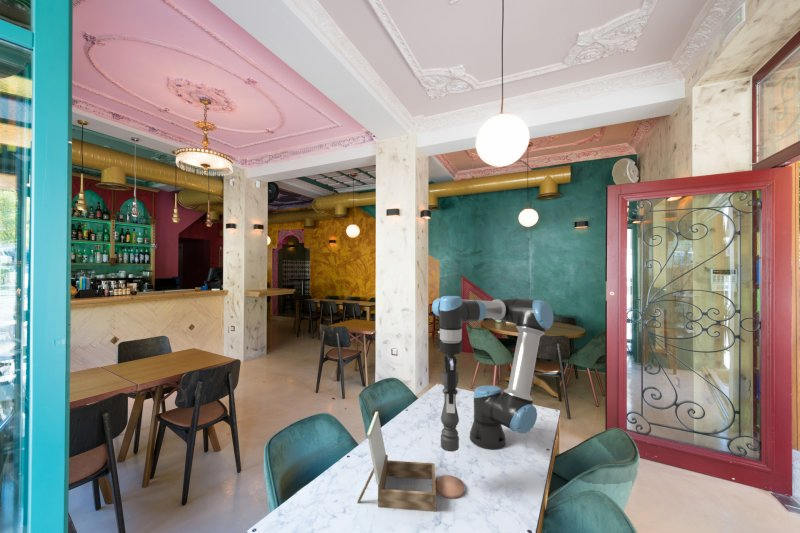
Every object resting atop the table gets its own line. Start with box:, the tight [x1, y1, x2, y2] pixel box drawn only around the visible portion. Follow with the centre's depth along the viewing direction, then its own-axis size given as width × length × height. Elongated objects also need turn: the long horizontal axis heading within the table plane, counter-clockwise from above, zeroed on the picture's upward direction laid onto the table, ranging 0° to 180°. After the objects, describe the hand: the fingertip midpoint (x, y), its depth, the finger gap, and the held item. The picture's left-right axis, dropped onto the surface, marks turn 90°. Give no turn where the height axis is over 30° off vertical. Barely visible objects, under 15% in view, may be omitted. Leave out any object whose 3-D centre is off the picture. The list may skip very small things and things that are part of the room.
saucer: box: [435, 474, 465, 500], centre depth 105 cm, size 10×10×1 cm
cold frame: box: [356, 454, 437, 512], centre depth 104 cm, size 25×16×12 cm, turn 85°
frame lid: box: [366, 411, 387, 485], centre depth 105 cm, size 4×16×15 cm, turn 175°
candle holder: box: [440, 370, 460, 453], centre depth 106 cm, size 6×6×25 cm
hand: (450, 408), depth 106 cm, fingers closed on candle holder, 5 cm apart
